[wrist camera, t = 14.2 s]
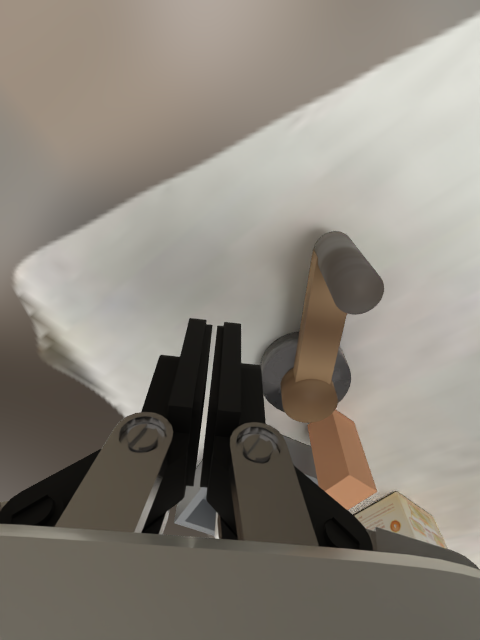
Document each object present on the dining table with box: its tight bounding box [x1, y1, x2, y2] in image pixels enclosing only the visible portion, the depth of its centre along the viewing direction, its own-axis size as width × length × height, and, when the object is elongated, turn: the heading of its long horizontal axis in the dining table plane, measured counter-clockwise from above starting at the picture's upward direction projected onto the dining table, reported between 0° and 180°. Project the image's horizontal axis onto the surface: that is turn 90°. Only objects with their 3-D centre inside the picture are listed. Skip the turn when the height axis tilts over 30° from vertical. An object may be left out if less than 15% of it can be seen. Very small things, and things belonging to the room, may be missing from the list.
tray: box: [174, 435, 319, 536], centre depth 36 cm, size 13×13×4 cm
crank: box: [281, 231, 384, 423], centre depth 23 cm, size 14×4×6 cm, turn 177°
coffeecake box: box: [354, 492, 448, 549], centre depth 34 cm, size 15×7×20 cm, turn 139°
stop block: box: [307, 410, 377, 510], centre depth 30 cm, size 3×3×7 cm
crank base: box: [261, 332, 351, 412], centre depth 29 cm, size 7×7×2 cm
